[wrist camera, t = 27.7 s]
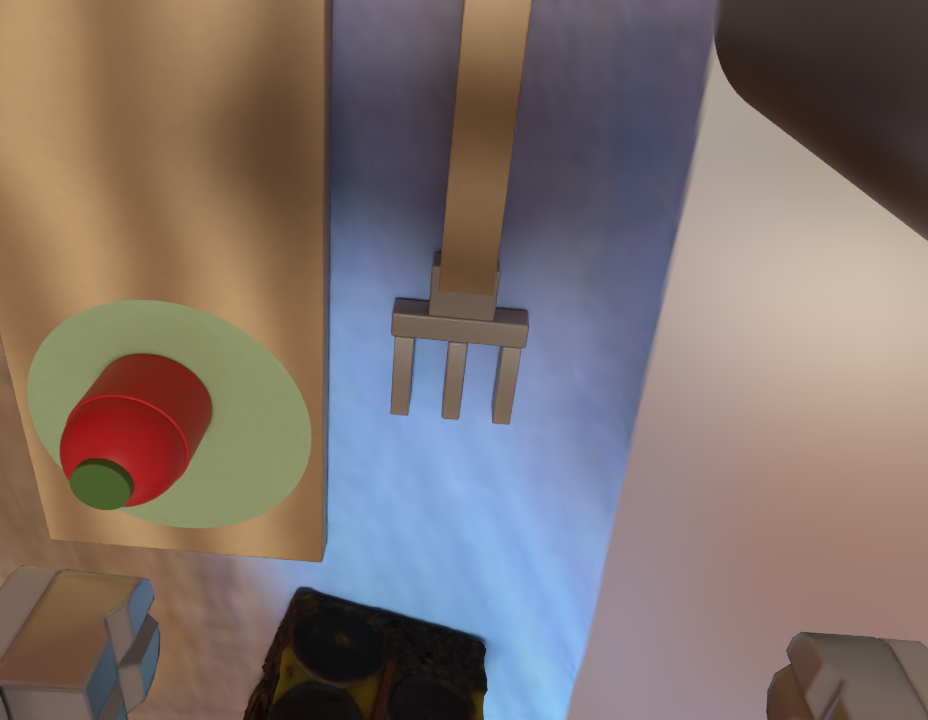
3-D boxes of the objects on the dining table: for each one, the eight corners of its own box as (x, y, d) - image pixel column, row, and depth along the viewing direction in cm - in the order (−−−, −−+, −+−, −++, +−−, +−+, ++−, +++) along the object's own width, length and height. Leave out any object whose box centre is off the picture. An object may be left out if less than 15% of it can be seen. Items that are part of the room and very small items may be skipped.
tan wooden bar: (420, -150, 21) (412, -158, 19) (597, -130, 21) (615, -134, 19) (389, 397, 31) (380, 445, 28) (512, 408, 31) (515, 457, 28)
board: (344, -1188, 13) (333, -1278, 12) (326, 544, 35) (322, 563, 34) (-361, -1307, 13) (-434, -1413, 12) (62, 521, 35) (50, 540, 34)
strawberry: (210, 361, 29) (162, 443, 24) (214, 452, 31) (170, 543, 27) (91, 346, 28) (21, 427, 24) (104, 439, 31) (42, 529, 26)
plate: (318, 299, 29) (312, 314, 28) (318, 520, 34) (313, 539, 33) (15, 269, 28) (-3, 283, 27) (66, 498, 34) (53, 517, 33)
